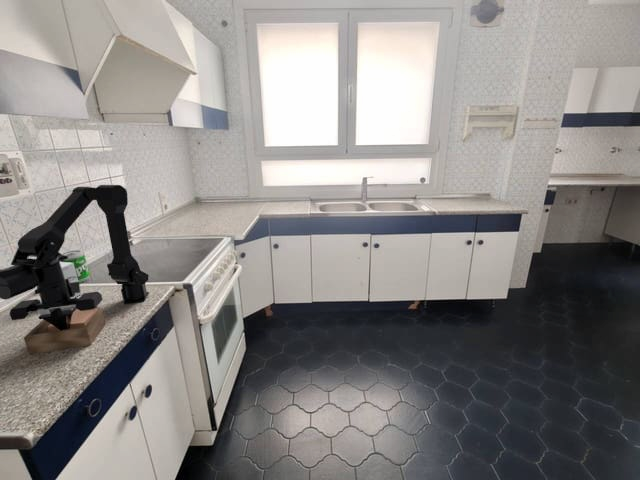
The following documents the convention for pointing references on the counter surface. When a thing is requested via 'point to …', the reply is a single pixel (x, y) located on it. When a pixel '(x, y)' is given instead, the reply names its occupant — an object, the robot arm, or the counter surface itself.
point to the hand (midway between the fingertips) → (66, 332)
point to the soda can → (78, 264)
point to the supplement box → (70, 274)
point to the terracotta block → (77, 319)
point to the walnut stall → (64, 335)
